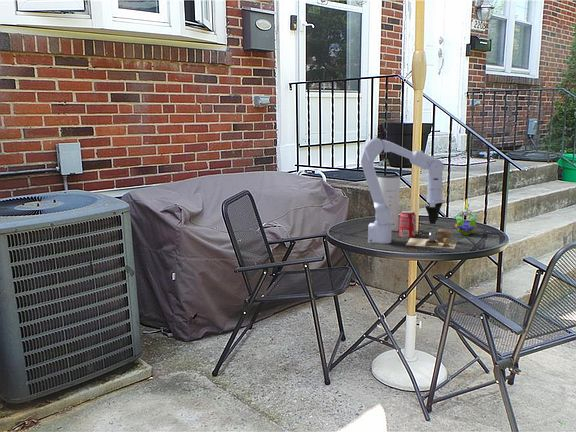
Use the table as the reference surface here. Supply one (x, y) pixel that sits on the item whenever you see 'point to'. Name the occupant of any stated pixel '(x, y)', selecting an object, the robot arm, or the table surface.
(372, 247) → the table surface
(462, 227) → the toy helicopter
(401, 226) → the soda can
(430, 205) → the robot arm
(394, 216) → the white tumbler
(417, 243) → the board
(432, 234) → the peg
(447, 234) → the block
